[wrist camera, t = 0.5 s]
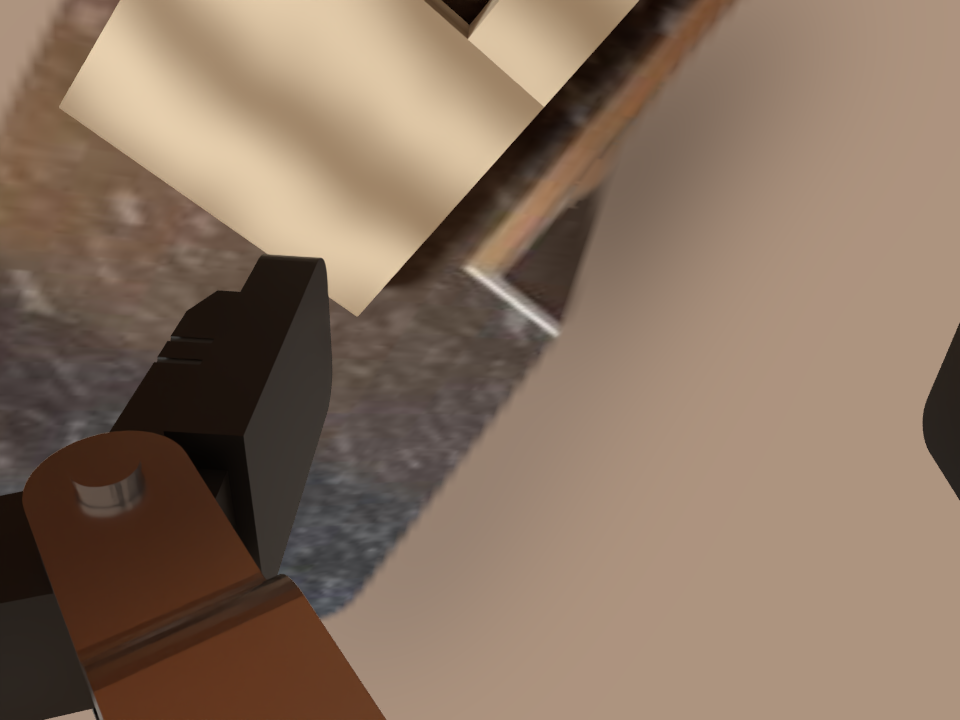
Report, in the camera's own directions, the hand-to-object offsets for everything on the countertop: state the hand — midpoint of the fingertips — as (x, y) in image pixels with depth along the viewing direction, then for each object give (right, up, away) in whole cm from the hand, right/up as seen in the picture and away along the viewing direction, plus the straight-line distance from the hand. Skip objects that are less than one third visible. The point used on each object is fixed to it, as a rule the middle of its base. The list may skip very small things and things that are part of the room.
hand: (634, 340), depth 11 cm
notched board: (-6, +13, +22) cm, 26 cm away
